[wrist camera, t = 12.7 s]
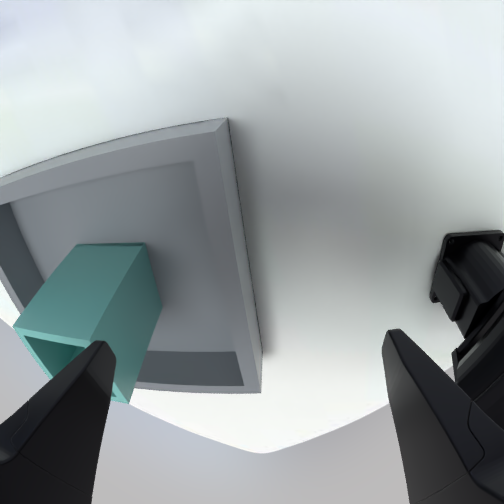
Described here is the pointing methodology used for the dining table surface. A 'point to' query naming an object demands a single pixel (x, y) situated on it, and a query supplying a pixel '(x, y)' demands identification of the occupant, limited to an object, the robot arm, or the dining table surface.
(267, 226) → the dining table surface
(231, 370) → the grey square tray
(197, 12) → the dining table surface
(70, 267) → the box
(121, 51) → the dining table surface
